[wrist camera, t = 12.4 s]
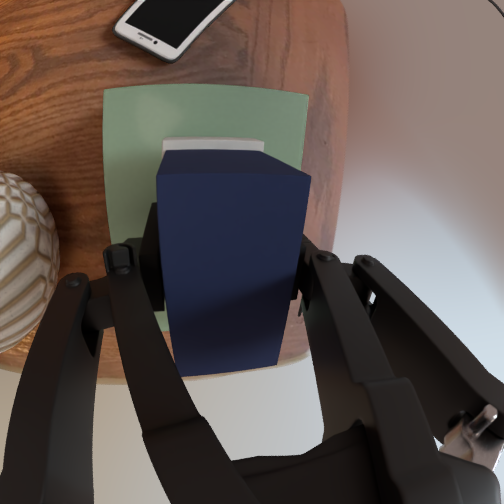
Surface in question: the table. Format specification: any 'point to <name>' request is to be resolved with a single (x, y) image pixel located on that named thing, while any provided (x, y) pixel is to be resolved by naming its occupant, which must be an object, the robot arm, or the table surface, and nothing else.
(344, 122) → the table surface
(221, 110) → the sage green footstool
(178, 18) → the cell phone
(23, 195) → the vase
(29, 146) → the table surface
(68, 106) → the table surface
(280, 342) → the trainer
